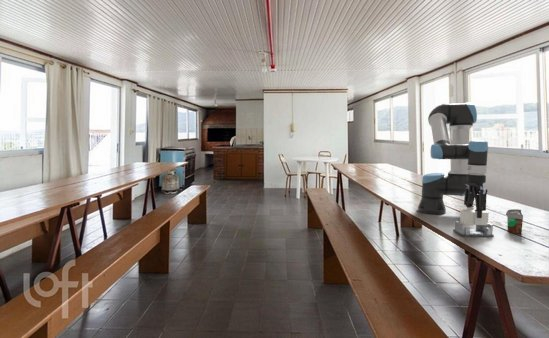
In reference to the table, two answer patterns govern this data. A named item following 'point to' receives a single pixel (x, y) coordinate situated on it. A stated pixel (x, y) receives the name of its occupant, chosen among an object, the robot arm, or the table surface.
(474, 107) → the robot arm
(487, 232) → the mount
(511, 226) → the food container
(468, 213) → the cream rectangular block
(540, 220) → the table surface
